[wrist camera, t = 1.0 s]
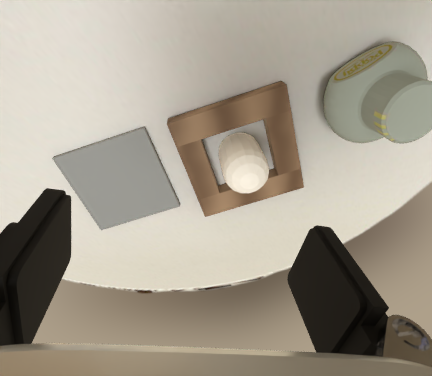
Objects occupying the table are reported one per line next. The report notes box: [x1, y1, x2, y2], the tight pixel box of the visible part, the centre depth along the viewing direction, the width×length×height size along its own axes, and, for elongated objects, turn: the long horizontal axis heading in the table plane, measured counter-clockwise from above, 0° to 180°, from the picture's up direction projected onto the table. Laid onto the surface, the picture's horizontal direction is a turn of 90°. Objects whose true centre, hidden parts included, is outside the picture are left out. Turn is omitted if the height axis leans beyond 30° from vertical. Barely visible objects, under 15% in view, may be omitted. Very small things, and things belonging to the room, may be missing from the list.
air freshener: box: [323, 42, 432, 143], centre depth 31 cm, size 11×8×10 cm
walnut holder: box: [167, 81, 304, 217], centre depth 37 cm, size 14×14×2 cm
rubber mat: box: [52, 127, 180, 230], centre depth 38 cm, size 12×12×1 cm
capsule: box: [219, 132, 269, 193], centre depth 34 cm, size 5×5×8 cm
